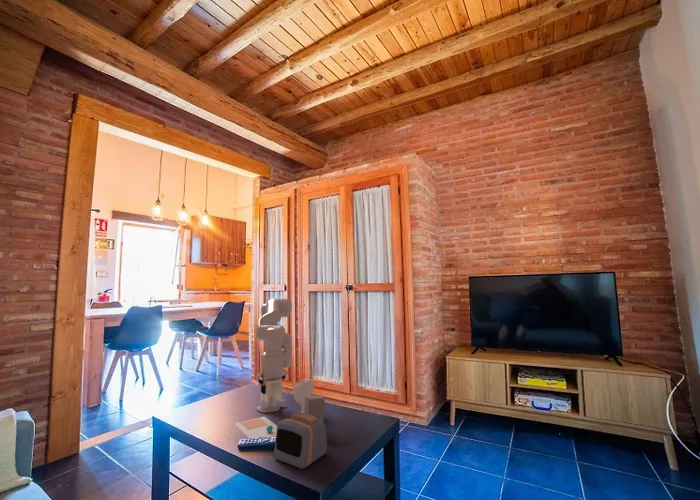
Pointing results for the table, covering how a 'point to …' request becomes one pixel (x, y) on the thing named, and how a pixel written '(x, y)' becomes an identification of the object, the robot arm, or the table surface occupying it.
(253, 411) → the table surface
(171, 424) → the table surface
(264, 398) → the cream rectangular block
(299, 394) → the heart sculpture
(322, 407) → the skincare box
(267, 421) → the mat
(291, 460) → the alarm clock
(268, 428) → the marble
